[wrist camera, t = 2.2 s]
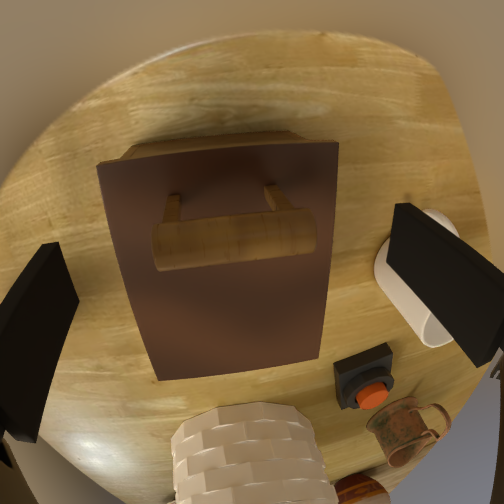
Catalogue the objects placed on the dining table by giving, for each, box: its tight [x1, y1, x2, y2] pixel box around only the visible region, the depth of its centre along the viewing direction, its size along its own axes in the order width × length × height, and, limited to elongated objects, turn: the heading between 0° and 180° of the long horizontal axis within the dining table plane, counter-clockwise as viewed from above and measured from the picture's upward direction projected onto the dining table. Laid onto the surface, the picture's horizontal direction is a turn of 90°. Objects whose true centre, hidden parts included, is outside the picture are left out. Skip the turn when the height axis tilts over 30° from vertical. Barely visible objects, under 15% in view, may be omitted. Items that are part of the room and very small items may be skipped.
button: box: [356, 382, 388, 410], centre depth 39 cm, size 4×4×2 cm
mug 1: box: [374, 209, 460, 347], centre depth 28 cm, size 12×8×10 cm
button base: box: [333, 343, 394, 410], centre depth 41 cm, size 10×8×4 cm
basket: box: [171, 401, 339, 504], centre depth 39 cm, size 25×24×19 cm
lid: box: [96, 140, 339, 381], centre depth 17 cm, size 16×13×7 cm
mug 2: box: [367, 397, 451, 468], centre depth 47 cm, size 12×18×12 cm, turn 169°
